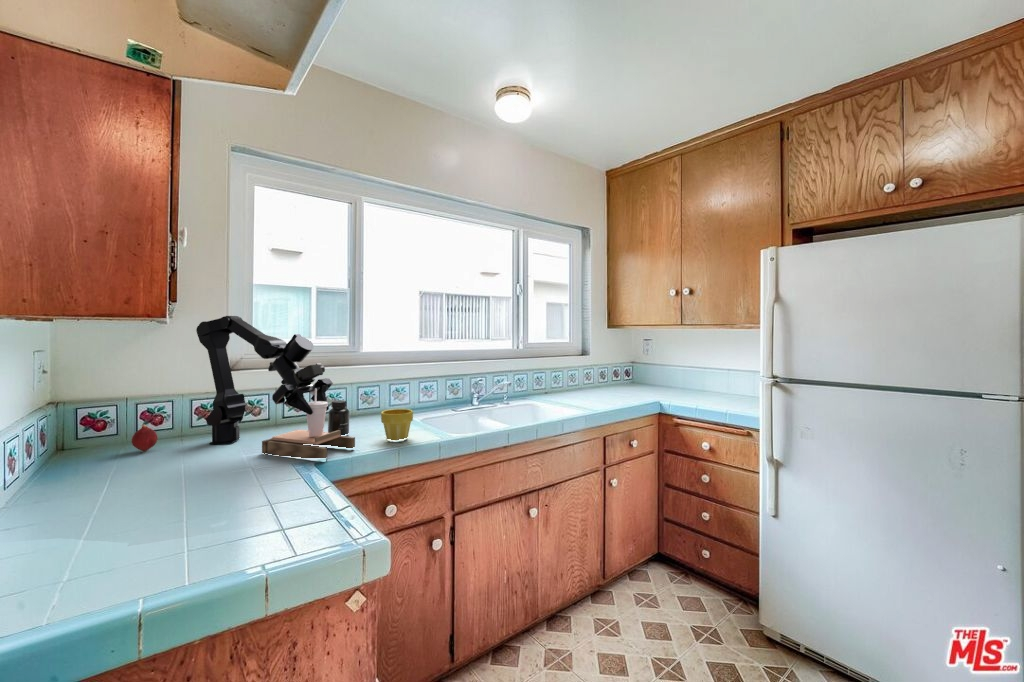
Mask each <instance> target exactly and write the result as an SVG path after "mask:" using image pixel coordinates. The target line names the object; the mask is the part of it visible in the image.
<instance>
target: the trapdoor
mask: <svg viewBox="0 0 1024 682" xmlns="http://www.w3.org/2000/svg"><path fill="white" fill-rule="evenodd" d="M338 437H341V430H337V431H334V432H331V433H328V432H324V431H323V435H322V436H317V437H311V436H309V431H308V430H307V429H295V430H293V431H289V432H285V433H281V434H279V435H275V436H272V437H271V438H272V440H275V441H278V442H286V443H295V444H313V445H318V444H321V443H323V442H326V441H329V440H332V439H335V438H338Z"/></svg>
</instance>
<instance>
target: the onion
mask: <svg viewBox="0 0 1024 682" xmlns="http://www.w3.org/2000/svg"><path fill="white" fill-rule="evenodd" d="M158 439H159V438H158V434H157V432H156V431H155V429H152V428H150V427H148V426H147V425H146V424H142V426H141V428H139V429H138V430H137V431H136V432H134V434H133V435H132V436H131V444H132V446H133V447H134V448H136V449H137V450H138V451H141V452H144V453H146V452H147V451H149V450H150V449H152V448H153V447H154V446H155V445H156V444H157V442H158Z"/></svg>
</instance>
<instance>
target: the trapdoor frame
mask: <svg viewBox="0 0 1024 682" xmlns="http://www.w3.org/2000/svg"><path fill="white" fill-rule="evenodd" d="M318 445H331V446H338V447H346V448H353V447H355V448H356V436H355V437H354V436H349V435H348V436H341V437H338V438H335V439H332V440H329V441H326V442H323V443H321V444H318ZM262 453H264V454H265V453H268V454H272V455H279V456H291V457H301V458H326V457H327V458H328V448H327V447H319V446H311V445H303V444H295V443H286V442H278V441H275V440H272V437H271V438H268V439H265V440H261V454H262ZM268 454H267V455H268Z"/></svg>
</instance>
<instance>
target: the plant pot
mask: <svg viewBox="0 0 1024 682" xmlns="http://www.w3.org/2000/svg"><path fill="white" fill-rule="evenodd" d="M380 414H381V415H380V419H381V421H380V422H381V423H382V425H383V427H384V432H385V436H386V437H385V438H386V440H387V439H391V440H399V439H404V438H407V437H409V434H410V428H411V423H412V421H414V419H413V418H414V412H413V410H412V409H408V408H393V409H392V408H391V409H386V410H383V411H381V412H380Z"/></svg>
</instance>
